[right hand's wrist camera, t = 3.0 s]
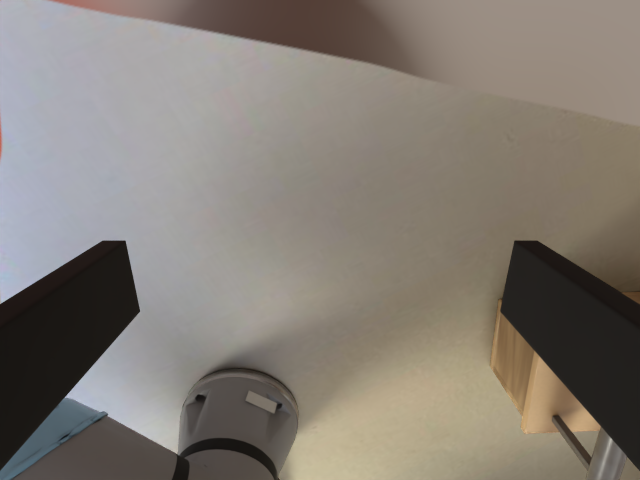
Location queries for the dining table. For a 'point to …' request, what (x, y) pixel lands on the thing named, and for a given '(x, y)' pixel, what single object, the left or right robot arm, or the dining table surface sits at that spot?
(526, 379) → the chest
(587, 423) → the lid
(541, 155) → the dining table surface
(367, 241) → the dining table surface
